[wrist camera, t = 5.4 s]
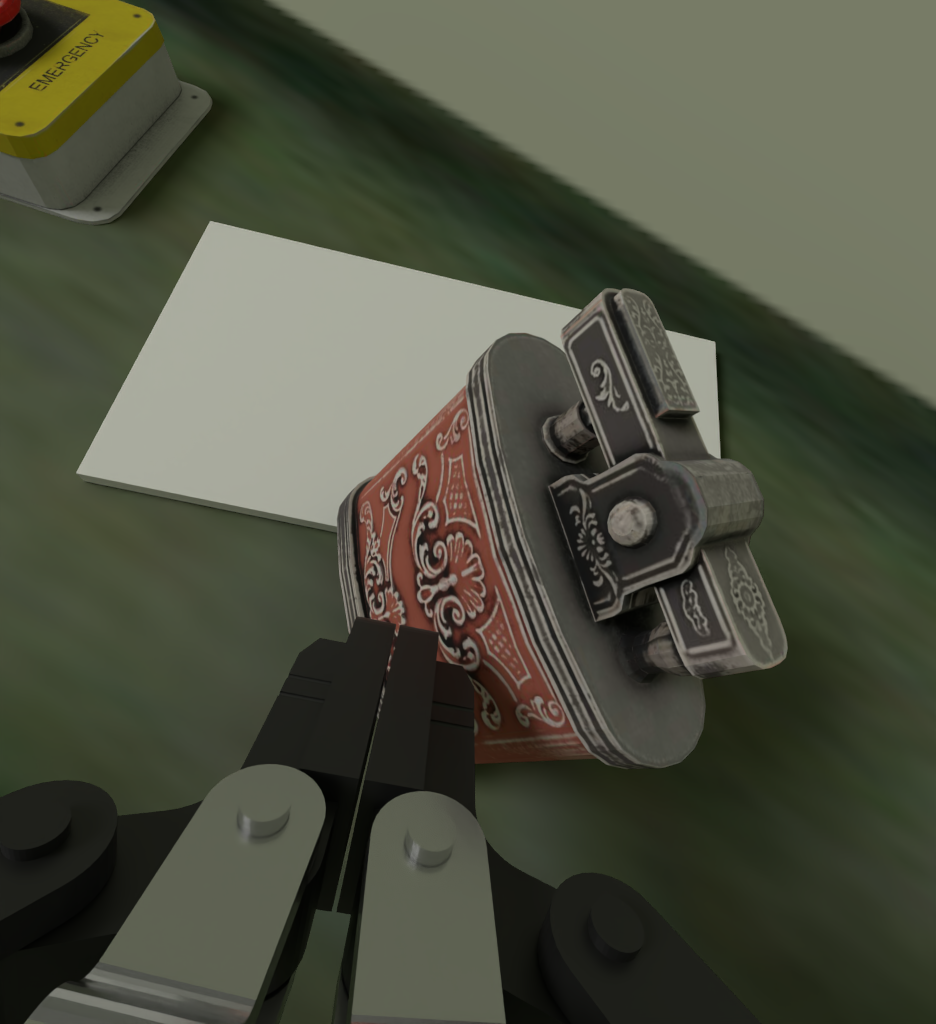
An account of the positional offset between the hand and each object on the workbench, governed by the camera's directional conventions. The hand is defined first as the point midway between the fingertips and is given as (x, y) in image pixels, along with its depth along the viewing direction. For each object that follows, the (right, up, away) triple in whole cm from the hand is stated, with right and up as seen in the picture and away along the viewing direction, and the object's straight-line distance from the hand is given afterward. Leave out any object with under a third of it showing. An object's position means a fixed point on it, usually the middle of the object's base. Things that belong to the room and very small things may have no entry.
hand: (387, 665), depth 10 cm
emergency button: (-18, +19, +13) cm, 29 cm away
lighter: (0, 0, +6) cm, 6 cm away
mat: (+1, +7, +10) cm, 12 cm away
